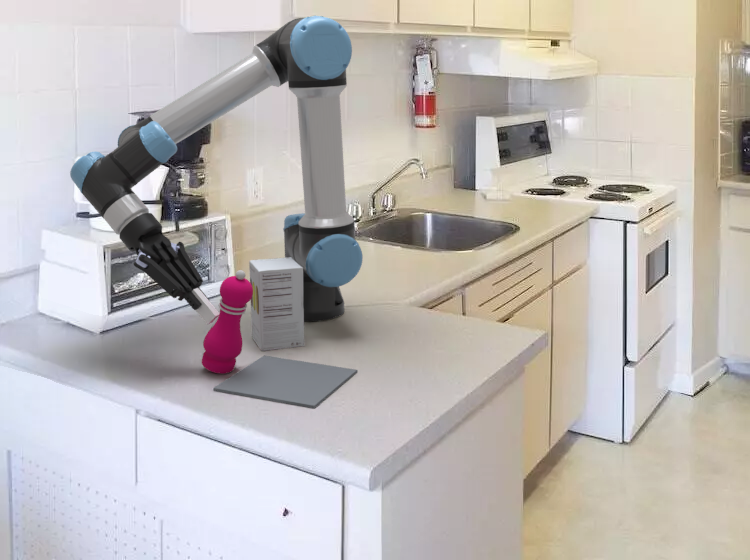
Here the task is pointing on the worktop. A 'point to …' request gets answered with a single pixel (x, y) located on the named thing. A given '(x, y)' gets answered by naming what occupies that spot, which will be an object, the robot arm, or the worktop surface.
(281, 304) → the supplement box
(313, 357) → the worktop surface
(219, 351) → the pepper mill
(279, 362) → the slate mat
